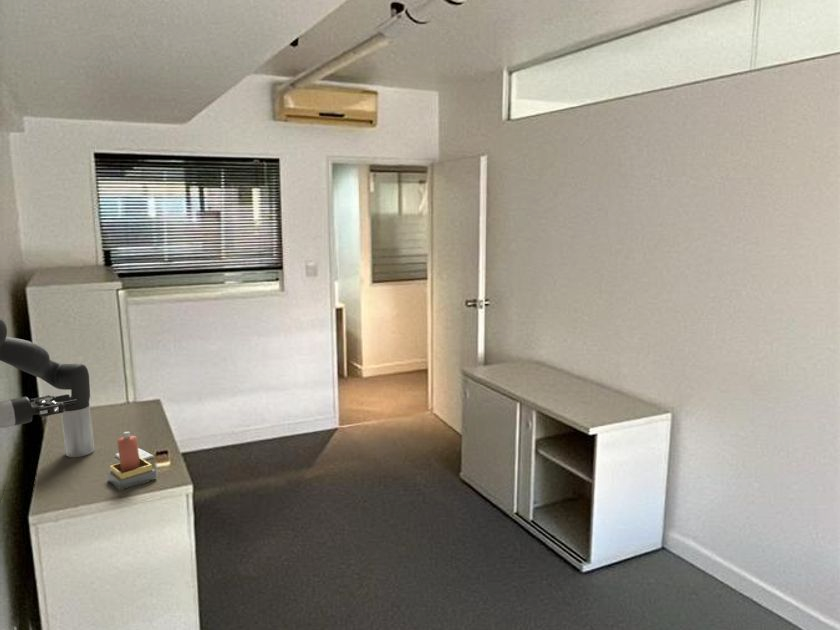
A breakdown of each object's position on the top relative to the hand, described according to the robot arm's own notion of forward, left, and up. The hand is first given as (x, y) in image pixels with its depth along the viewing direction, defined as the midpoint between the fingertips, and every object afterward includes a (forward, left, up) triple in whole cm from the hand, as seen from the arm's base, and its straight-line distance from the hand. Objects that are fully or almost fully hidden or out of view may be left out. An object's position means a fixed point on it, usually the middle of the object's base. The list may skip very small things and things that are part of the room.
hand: (73, 400), depth 183 cm
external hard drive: (-20, +22, -31) cm, 43 cm away
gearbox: (0, +14, -30) cm, 33 cm away
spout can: (0, +14, -27) cm, 30 cm away
